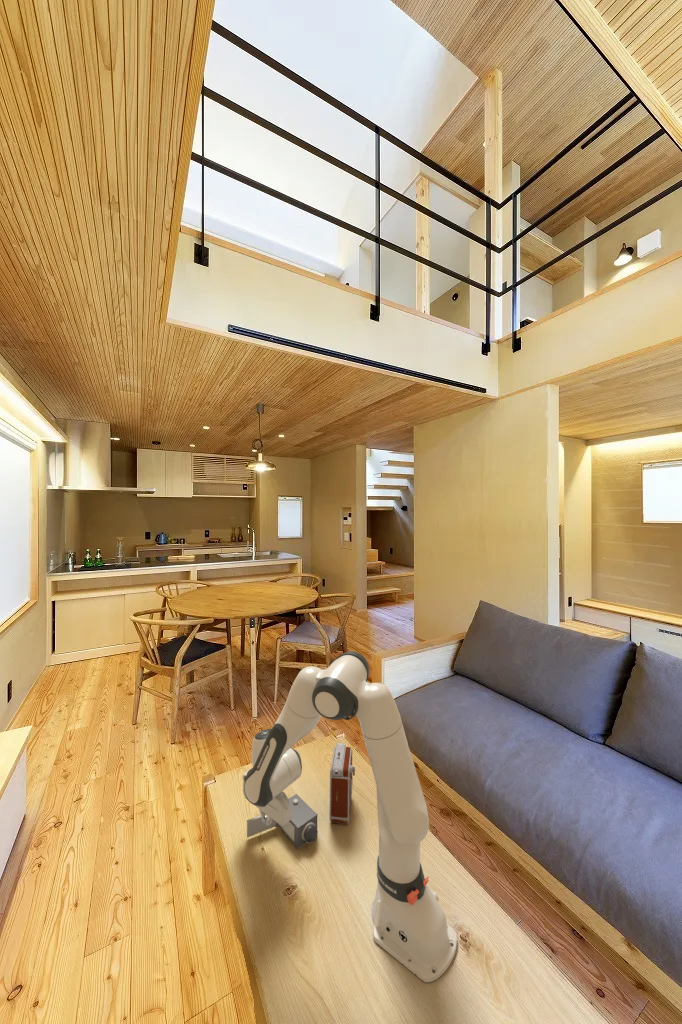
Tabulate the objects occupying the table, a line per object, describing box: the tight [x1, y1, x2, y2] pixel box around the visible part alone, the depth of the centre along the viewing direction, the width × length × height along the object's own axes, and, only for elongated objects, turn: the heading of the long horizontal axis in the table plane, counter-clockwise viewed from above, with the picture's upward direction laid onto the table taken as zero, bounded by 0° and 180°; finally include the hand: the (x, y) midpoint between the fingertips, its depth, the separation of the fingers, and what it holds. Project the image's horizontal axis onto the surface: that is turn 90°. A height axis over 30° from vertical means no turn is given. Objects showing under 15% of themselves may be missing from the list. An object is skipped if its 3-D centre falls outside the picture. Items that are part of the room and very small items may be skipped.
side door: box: [246, 814, 279, 838], centre depth 126 cm, size 10×1×6 cm, turn 118°
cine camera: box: [329, 742, 356, 825], centre depth 139 cm, size 9×19×20 cm, turn 174°
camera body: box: [277, 793, 319, 850], centre depth 127 cm, size 14×8×8 cm, turn 42°
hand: (266, 822), depth 122 cm, fingers closed
